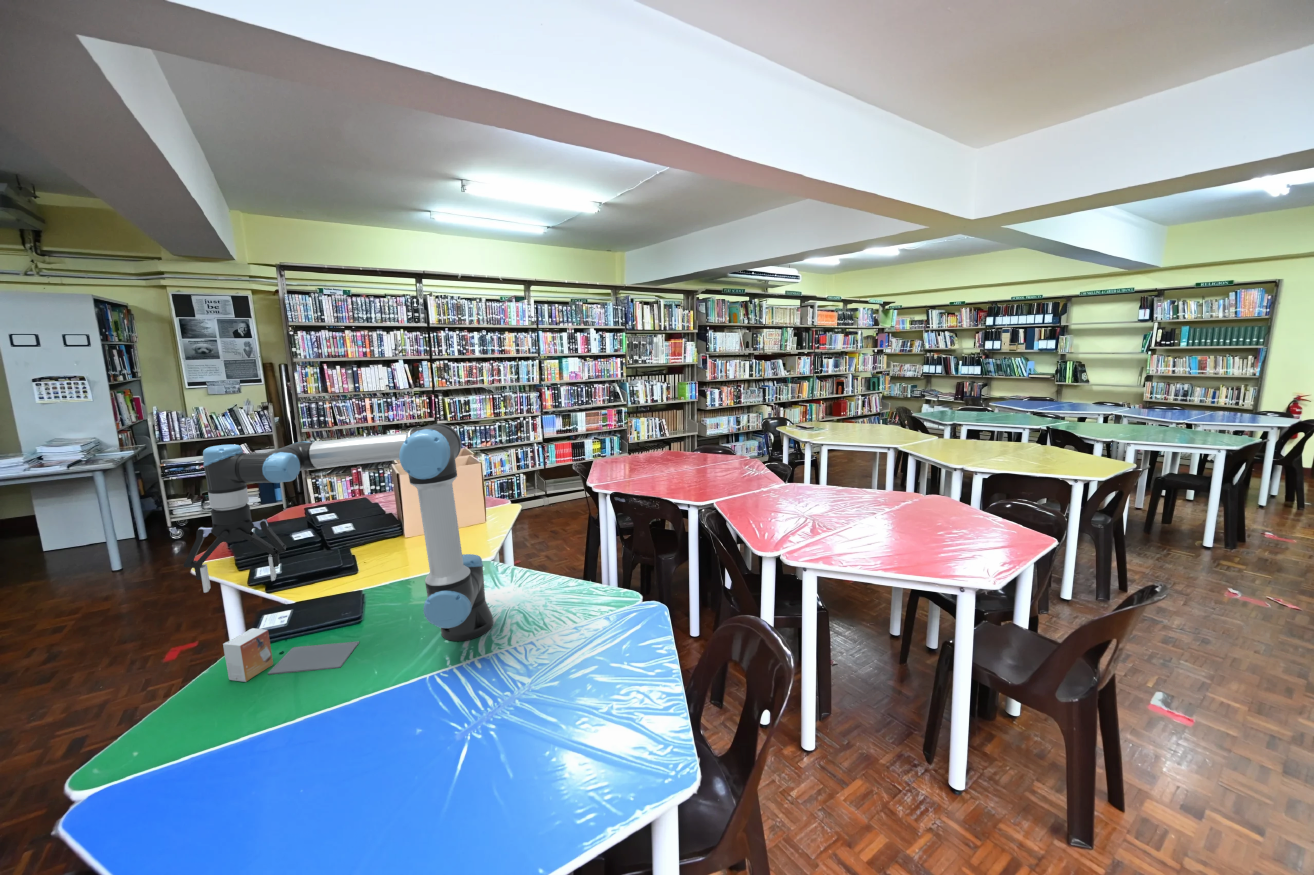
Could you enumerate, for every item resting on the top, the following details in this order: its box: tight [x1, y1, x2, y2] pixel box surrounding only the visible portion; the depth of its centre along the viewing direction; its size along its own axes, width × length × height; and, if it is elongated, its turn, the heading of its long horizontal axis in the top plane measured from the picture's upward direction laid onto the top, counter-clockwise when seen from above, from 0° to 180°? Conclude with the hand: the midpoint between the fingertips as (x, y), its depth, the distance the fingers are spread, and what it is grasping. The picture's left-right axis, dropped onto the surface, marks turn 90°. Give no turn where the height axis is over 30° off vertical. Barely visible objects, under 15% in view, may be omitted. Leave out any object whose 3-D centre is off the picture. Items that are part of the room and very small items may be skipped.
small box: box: [222, 627, 274, 683], centre depth 134 cm, size 8×6×10 cm
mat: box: [267, 640, 360, 676], centre depth 141 cm, size 18×12×1 cm, turn 98°
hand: (241, 584), depth 130 cm, fingers open, 13 cm apart
